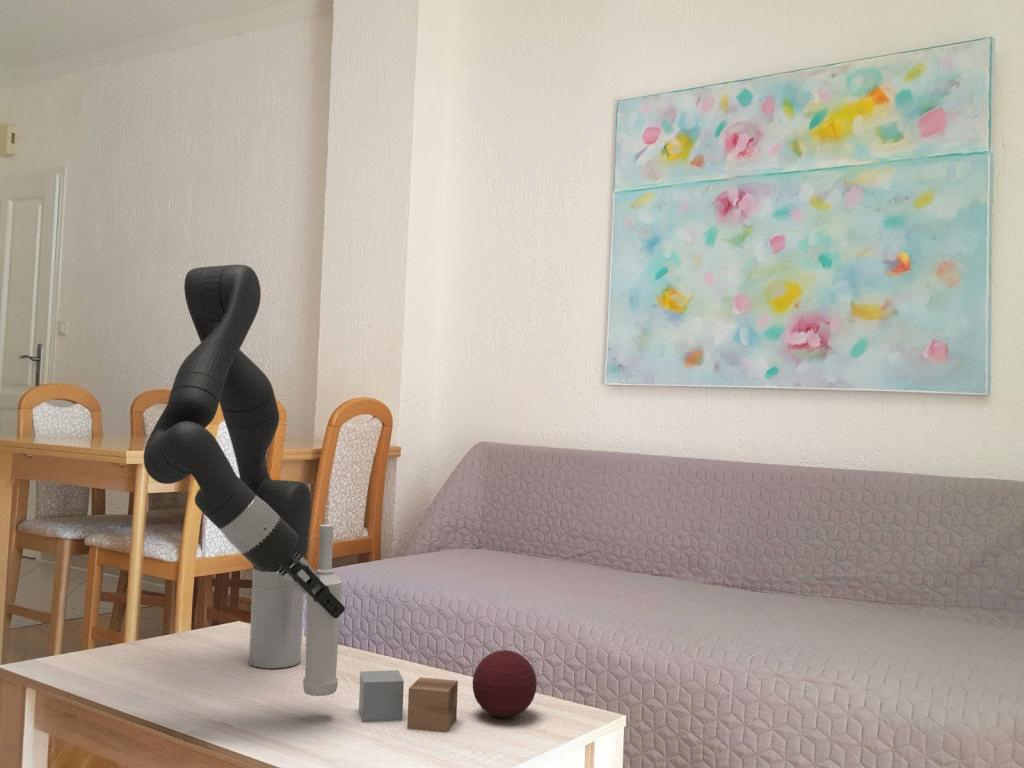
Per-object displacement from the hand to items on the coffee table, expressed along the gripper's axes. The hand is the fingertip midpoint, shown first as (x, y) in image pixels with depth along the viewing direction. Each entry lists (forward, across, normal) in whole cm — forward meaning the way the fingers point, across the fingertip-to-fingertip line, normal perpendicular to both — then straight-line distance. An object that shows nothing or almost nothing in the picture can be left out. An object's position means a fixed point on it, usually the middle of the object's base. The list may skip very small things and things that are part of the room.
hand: (335, 609), depth 142 cm
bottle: (+8, 0, +10) cm, 13 cm away
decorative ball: (+29, -8, -6) cm, 31 cm away
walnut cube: (+21, -8, +2) cm, 23 cm away
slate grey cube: (+17, -2, +6) cm, 18 cm away
